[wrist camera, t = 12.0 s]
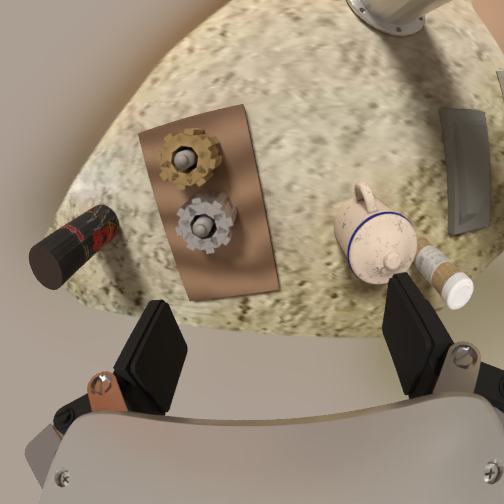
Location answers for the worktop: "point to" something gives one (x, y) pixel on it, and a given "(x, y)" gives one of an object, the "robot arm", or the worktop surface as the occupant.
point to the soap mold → (466, 169)
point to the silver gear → (214, 208)
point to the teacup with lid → (374, 237)
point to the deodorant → (72, 246)
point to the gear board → (216, 179)
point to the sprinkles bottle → (442, 275)
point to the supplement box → (501, 79)
